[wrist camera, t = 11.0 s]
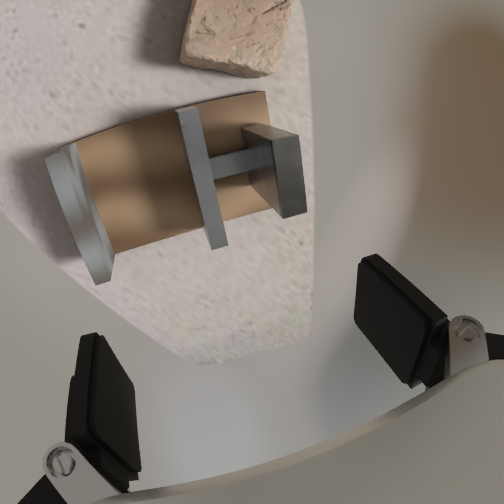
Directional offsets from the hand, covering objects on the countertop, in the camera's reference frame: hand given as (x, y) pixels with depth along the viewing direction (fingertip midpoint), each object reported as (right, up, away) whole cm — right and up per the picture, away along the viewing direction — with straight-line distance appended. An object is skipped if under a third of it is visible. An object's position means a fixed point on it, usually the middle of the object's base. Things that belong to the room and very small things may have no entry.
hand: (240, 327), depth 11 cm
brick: (-5, +26, +9) cm, 28 cm away
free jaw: (-2, +11, +18) cm, 21 cm away
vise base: (-7, +10, +19) cm, 22 cm away
